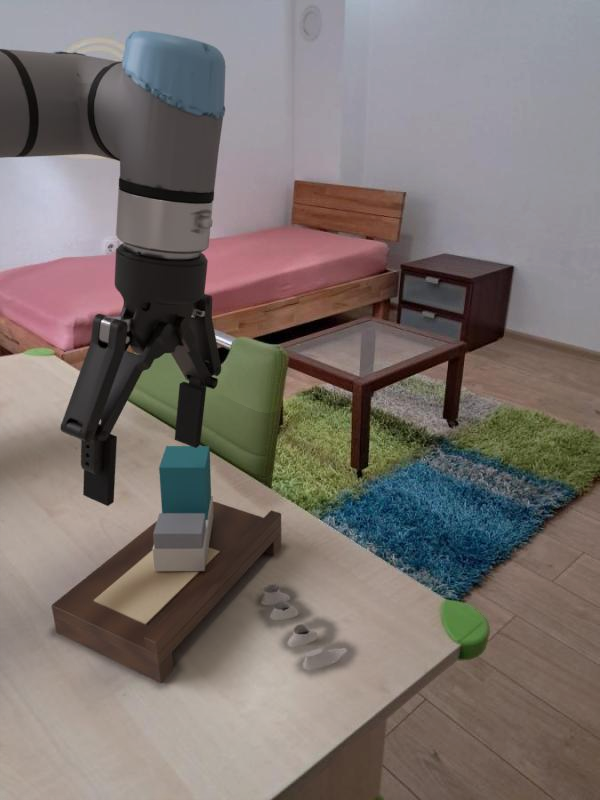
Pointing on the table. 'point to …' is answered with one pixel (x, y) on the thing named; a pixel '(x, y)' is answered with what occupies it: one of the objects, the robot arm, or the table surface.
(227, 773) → the table surface
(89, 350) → the robot arm
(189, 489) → the stacked toy blocks
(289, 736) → the table surface
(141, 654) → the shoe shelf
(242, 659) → the table surface
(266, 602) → the baby socks
